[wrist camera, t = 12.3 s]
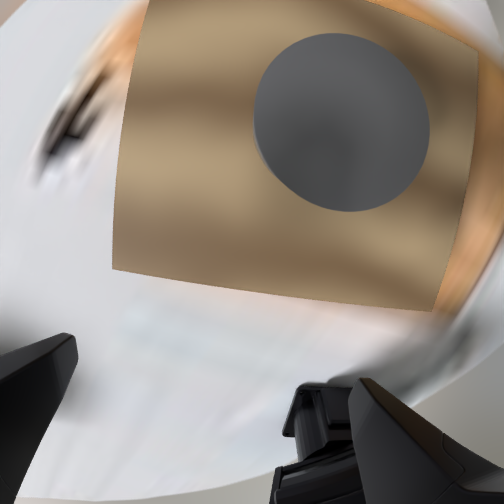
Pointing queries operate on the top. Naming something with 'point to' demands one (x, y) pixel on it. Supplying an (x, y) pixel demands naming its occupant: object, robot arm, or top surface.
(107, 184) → the top surface
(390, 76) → the grey domed cylinder
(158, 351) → the top surface
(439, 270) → the lid
